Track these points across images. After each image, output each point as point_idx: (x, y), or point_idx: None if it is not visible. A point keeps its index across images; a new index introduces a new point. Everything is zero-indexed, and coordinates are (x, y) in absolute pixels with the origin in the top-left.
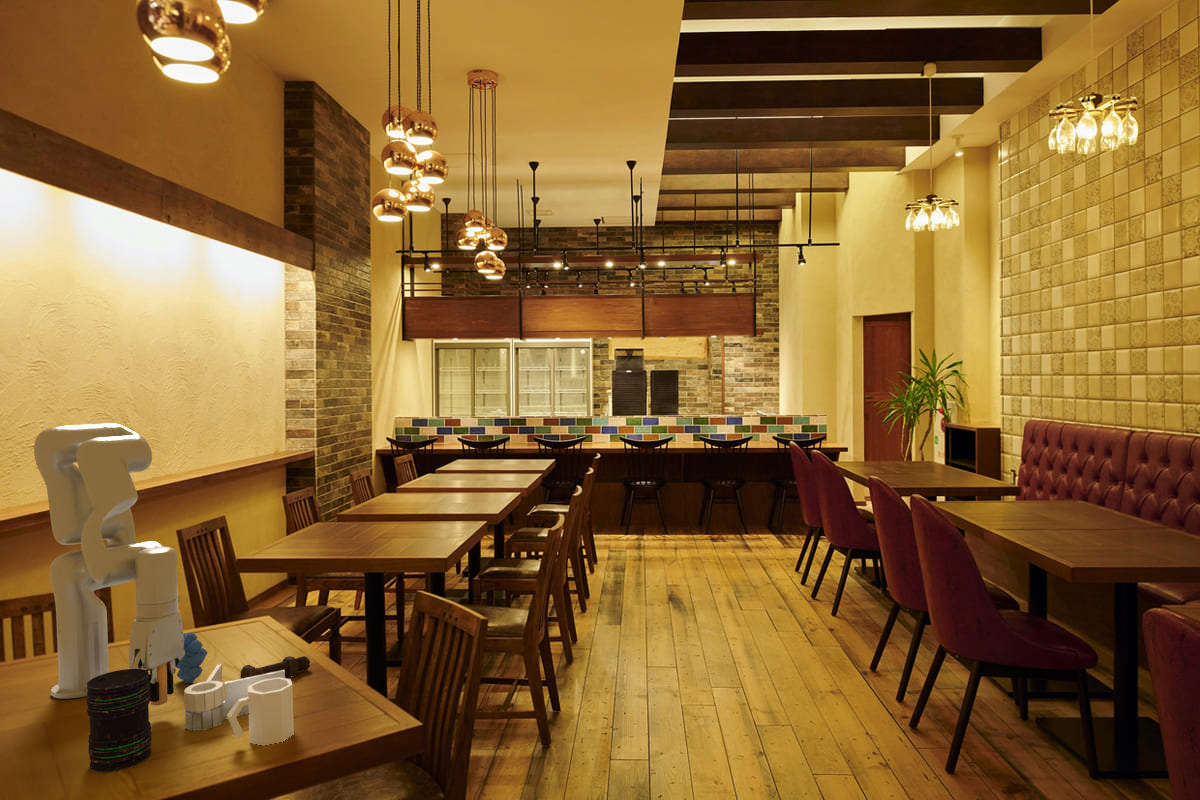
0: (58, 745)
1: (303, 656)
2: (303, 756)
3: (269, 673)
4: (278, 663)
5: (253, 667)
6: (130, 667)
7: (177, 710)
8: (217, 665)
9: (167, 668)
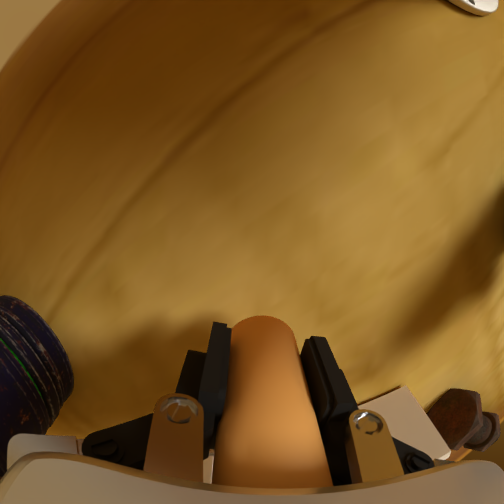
0: (43, 113)
1: (496, 440)
2: None
3: None
4: (481, 438)
5: (456, 449)
6: (34, 455)
7: (324, 331)
8: (440, 458)
9: (345, 465)
